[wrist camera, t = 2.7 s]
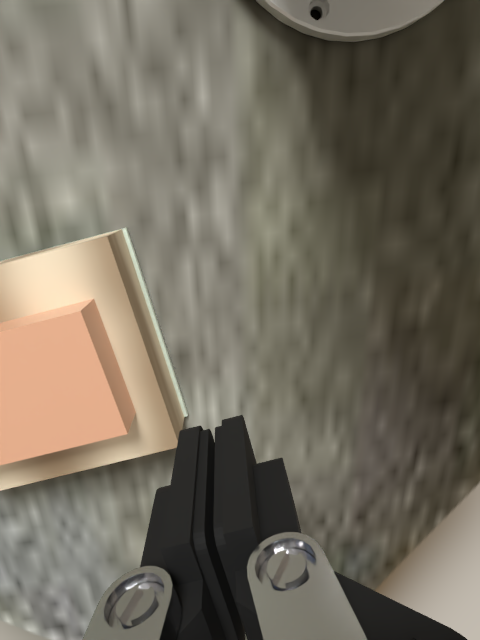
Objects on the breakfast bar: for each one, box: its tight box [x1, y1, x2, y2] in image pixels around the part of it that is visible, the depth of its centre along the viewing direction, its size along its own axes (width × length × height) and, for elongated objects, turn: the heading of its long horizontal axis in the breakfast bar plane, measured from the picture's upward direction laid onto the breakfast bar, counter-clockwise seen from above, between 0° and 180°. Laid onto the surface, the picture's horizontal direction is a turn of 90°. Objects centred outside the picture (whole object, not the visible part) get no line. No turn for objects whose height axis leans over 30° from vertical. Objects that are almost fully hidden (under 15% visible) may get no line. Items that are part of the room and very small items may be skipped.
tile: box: [0, 299, 136, 465], centre depth 20 cm, size 8×6×2 cm
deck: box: [0, 229, 184, 491], centre depth 22 cm, size 12×11×3 cm
